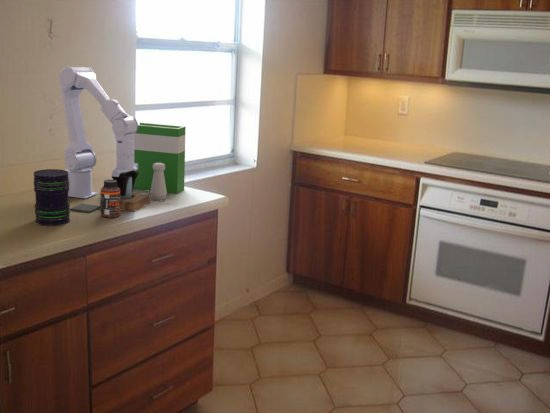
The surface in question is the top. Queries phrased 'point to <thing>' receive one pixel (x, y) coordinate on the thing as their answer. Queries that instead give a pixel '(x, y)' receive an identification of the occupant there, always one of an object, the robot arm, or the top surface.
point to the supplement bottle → (110, 199)
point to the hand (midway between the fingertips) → (125, 193)
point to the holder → (134, 202)
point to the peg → (128, 190)
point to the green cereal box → (160, 155)
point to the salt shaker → (158, 182)
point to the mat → (85, 208)
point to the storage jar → (51, 197)
